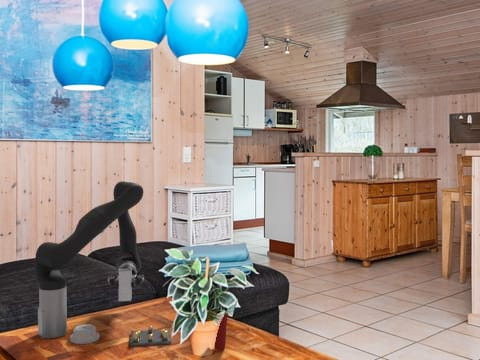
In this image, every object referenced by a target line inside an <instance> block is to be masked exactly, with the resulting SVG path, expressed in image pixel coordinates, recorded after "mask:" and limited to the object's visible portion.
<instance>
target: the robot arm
mask: <svg viewBox="0 0 480 360" xmlns="http://www.w3.org/2000/svg"><path fill="white" fill-rule="evenodd" d="M112 196H113V200H111V201H108V202H106V203H103V204H100V205H98V206H95V207H93V208H91V210H89V211H88V212H87V213H85V214H84V215H83V216H82V217H81V218H80V219H79V221H78V222H77V225H76V227H75V230H74V231H73V233H72V234H71V235H70V236H69V237H67V238H66V239H64V240H63V241H61V242H60V243H57V242H50V241H46V242H43V243H41V244H40V245H39V246H38V248H37V249H36V253H35V259H34V260H35V274H36V280H37V283H38V293H39V295H38V296H39V297H38V299H39V300H38V301H39V305H38V306H39V307H38V308H37V329H38V330H37V333H38V335H39V337H40V338H41V339H55V338H60V337H63V336H65V335H66V334H67V333H68V318H67V317H68V315H67V313H68V311H67V308H68V307H67V306H68V305H67V279H66V277H65V276H64V275H62V273H61V271H60V270H62V269H64V268H65V267H66V266H68V265H69V264H70V263H71V262H72V261H73V260H74V258H76V256H77V255H78V254H80V252H81V251H82V250H83V249H84V248H85V247H87V245H89V244H90V243H91V242H92V241H93V240H95V238H97V237H98V236H99V235H100V234H101V233H103V232H104V231H105V230H106V229H107V228H108V227H109V226H110V225H112V224H113V223H114V222H115V221H116V220H117V221H118V223H117V224H118V230H119V251H120V252H122V253H125V254H129V255H131V256H120V257H118V258H117V259H116V260H115V261H116V262H115V268H116V271H117V272H116V275H115V276H112V275H107V283H108V284H109V285H110V286H112V287H113V286H114V287H115V288H117V289H119V269H124V268H132V280H131V288H134V287H136V285H138V286H139V285H141V284H142V283H144V281H145V275H144V274H139V275H138V273H139V272H140V271H141V268H142V262H141V259H140V255H139V253H138V248H137V230H136V227H135V225H134V223H133V220H132V218H131V215H130V212H129V210H131V209H132V208H134V207H135V206H137V204H139V203H140V201H141V200H142V199H143V197H144V188H143V186H142V185H140V184H139V183H136V182H131V181H125V180H124V181H121V180H120V181H119V182H117V183H116V184H115V185H114V188H113V195H112Z"/></svg>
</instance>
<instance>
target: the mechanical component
mask: <svg viewBox="0 0 480 360" xmlns="http://www.w3.org/2000/svg"><path fill="white" fill-rule="evenodd" d="M99 339H100V333H99V331H97V327H96V326H95V325H94V324H79V325H76V326H74V328H73V333H72V334H71V335H70V337H69V342H70V343H73V344H77V345H84V344H85V345H86V344H91V343H94V342H97V341H98V340H99Z"/></svg>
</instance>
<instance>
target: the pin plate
mask: <svg viewBox="0 0 480 360" xmlns="http://www.w3.org/2000/svg"><path fill="white" fill-rule="evenodd" d="M147 327H148V328H147V329H145V330H140V329H139V330H131V331H130V337H129V347H141V346H143V347H144V346H157V345H159V346H160V345H161V346H162V345H172V339H171V337H172V336H171V330H170V328H168V329H167V328H166V329H165V328H161V329H153V328H154V327H153V325H148V326H147Z"/></svg>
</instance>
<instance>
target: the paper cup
mask: <svg viewBox="0 0 480 360" xmlns="http://www.w3.org/2000/svg"><path fill="white" fill-rule="evenodd" d="M227 325H228V312H226V313H225V315H224V317H223V319H222V321H221V323H220V326H219V330H218V333H217V337H216V342H215V351H216V352H219V351H223V350H224V349H225V348H226V342H227V341H226V340H227V327H228V326H227ZM215 351H214V352H215Z"/></svg>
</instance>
